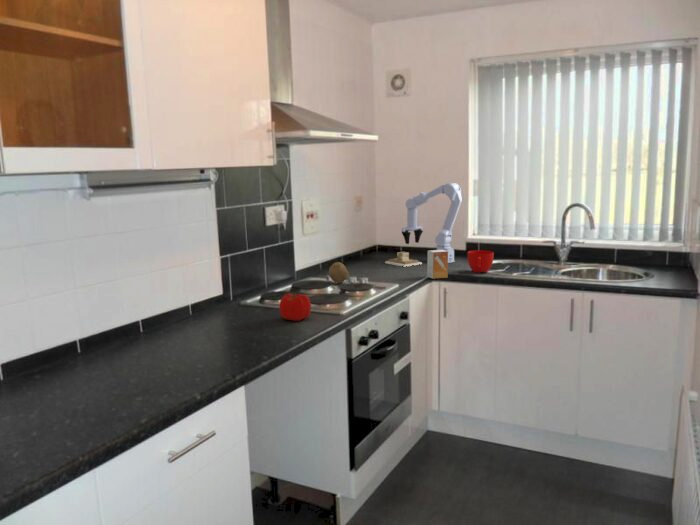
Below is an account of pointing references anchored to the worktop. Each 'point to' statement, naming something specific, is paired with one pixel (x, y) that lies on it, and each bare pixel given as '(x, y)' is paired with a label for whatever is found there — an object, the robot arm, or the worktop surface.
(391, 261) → the keyed base
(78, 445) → the worktop surface
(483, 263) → the ceramic cup
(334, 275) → the coconut
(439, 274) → the small box
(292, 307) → the tomato
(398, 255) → the flange block
